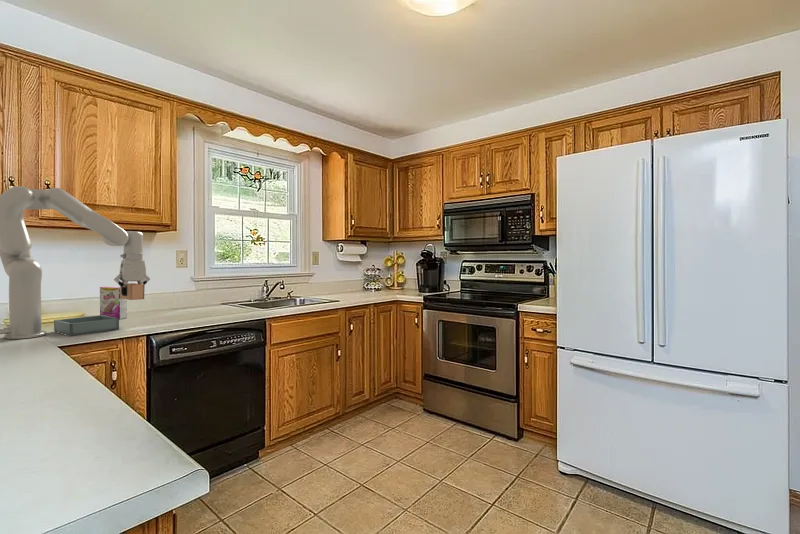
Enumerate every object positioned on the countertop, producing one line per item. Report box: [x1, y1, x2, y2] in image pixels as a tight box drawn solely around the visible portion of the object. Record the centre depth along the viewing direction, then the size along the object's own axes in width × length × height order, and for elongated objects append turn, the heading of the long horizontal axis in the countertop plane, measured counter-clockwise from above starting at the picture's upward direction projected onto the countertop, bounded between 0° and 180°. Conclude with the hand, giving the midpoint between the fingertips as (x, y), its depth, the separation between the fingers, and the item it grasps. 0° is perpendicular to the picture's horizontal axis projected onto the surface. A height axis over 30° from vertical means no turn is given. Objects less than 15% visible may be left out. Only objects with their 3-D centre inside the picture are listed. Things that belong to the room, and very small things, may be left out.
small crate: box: [119, 282, 146, 301], centre depth 194 cm, size 6×10×7 cm, turn 58°
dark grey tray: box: [53, 314, 120, 337], centre depth 178 cm, size 18×16×5 cm
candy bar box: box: [99, 285, 128, 321], centre depth 209 cm, size 11×5×16 cm, turn 84°
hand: (132, 294), depth 194 cm, fingers closed on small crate, 6 cm apart
